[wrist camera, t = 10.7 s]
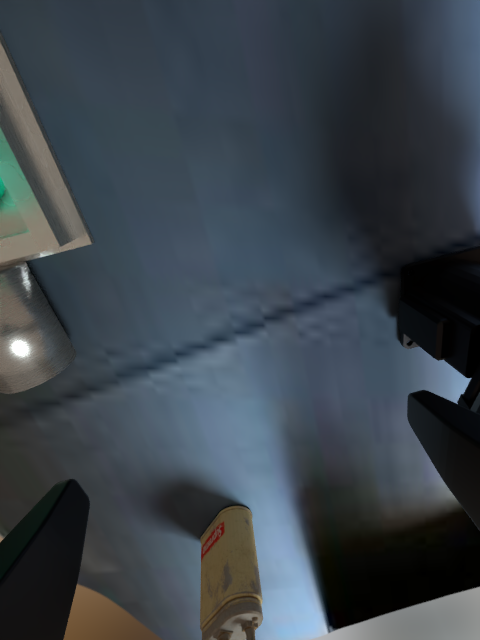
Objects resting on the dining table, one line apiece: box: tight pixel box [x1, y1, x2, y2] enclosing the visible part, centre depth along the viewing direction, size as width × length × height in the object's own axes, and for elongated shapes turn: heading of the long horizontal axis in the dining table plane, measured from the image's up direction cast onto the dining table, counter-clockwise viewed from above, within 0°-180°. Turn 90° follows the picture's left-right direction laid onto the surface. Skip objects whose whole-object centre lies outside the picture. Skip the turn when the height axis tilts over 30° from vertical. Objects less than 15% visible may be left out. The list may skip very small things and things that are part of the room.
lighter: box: [200, 506, 263, 640], centre depth 26 cm, size 7×4×10 cm, turn 151°
